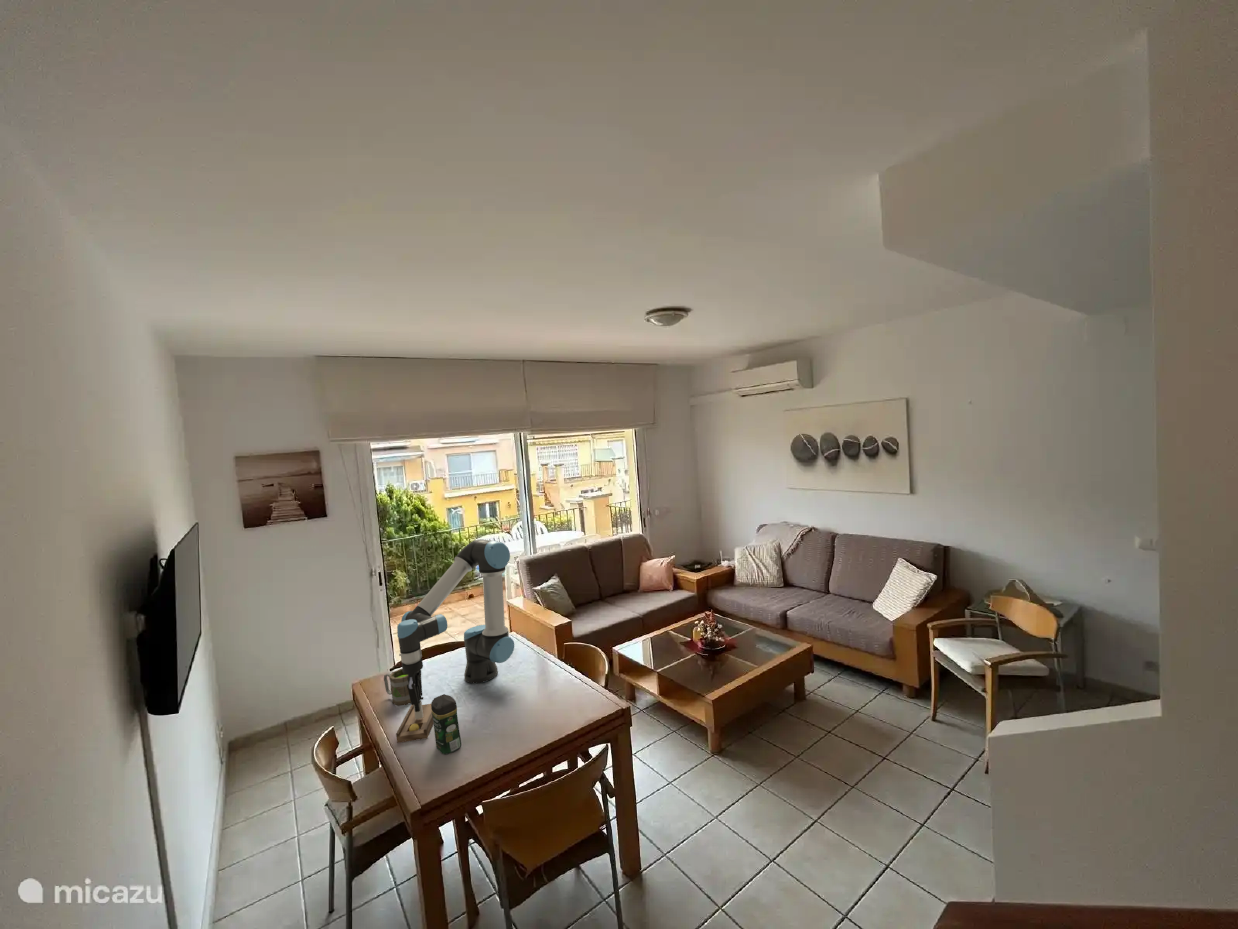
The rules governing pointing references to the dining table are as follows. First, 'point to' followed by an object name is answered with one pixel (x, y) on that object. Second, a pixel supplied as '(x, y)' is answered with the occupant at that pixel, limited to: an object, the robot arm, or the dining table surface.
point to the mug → (398, 687)
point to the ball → (414, 727)
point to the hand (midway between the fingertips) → (419, 717)
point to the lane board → (423, 723)
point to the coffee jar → (446, 724)
